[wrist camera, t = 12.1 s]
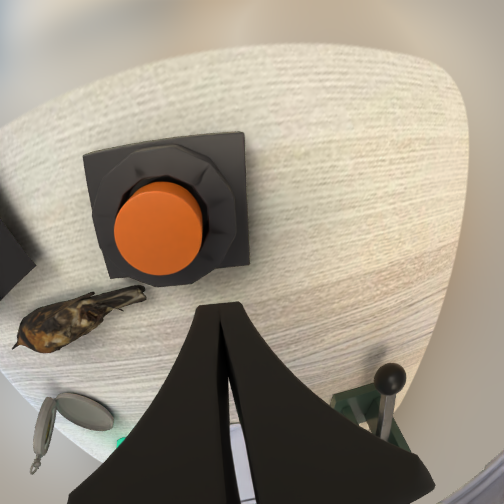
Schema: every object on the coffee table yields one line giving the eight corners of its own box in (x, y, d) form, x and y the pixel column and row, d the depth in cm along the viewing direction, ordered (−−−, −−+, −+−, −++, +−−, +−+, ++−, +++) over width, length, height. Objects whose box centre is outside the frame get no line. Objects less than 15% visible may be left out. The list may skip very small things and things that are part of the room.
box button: (206, 252, 13) (206, 271, 12) (133, 260, 13) (125, 279, 11) (198, 176, 11) (197, 185, 10) (118, 187, 11) (105, 198, 9)
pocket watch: (123, 426, 23) (117, 506, 15) (62, 418, 22) (48, 488, 13) (92, 381, 20) (71, 480, 11) (26, 374, 19) (-2, 454, 10)
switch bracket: (333, 394, 25) (364, 469, 17) (389, 377, 26) (427, 441, 18) (321, 428, 29) (344, 489, 20) (371, 413, 30) (397, 468, 21)
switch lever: (368, 363, 22) (386, 376, 19) (395, 354, 22) (414, 365, 19) (358, 461, 22) (369, 477, 19) (382, 452, 22) (394, 466, 19)
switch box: (247, 254, 16) (255, 282, 14) (115, 268, 16) (101, 296, 13) (241, 131, 13) (249, 133, 11) (91, 151, 12) (66, 160, 10)
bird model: (7, 313, 15) (-7, 333, 13) (139, 269, 16) (130, 294, 13) (28, 342, 17) (17, 364, 14) (161, 310, 17) (156, 338, 15)
